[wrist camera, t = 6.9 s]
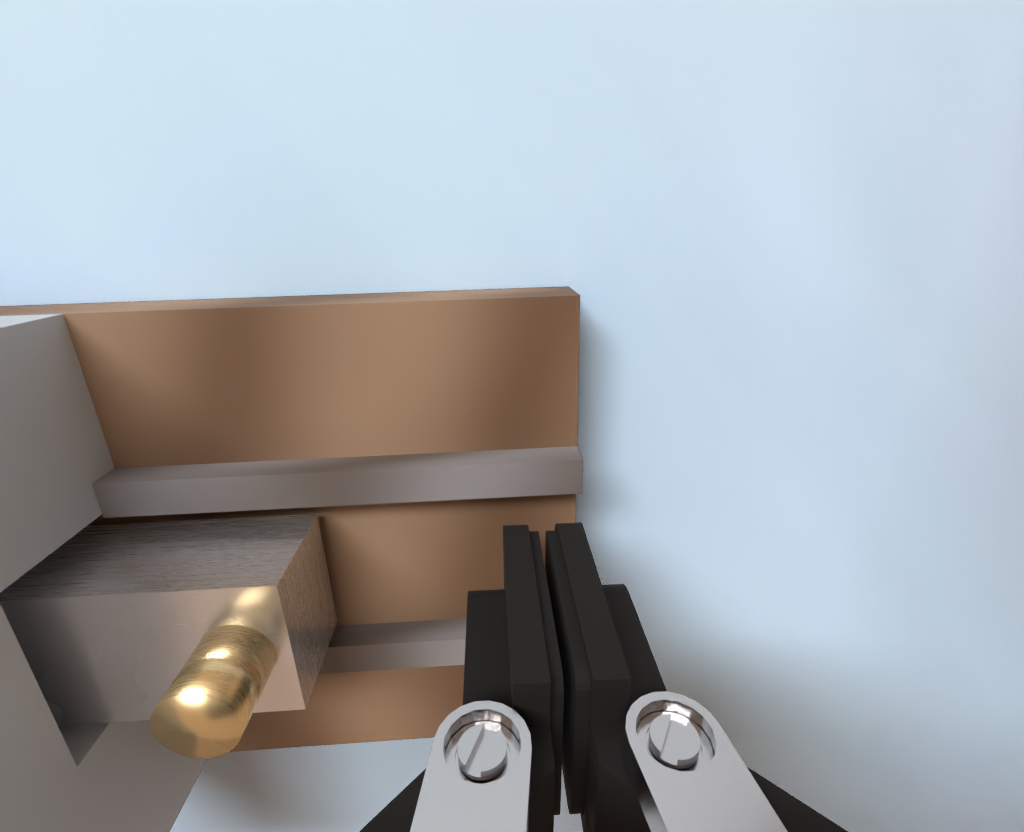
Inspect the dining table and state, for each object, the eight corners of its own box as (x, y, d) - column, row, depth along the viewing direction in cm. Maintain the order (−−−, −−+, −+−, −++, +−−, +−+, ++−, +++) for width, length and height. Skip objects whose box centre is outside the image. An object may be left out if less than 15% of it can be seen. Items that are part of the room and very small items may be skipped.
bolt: (317, 513, 11) (240, 651, 8) (337, 621, 12) (277, 786, 9) (-61, 533, 11) (-327, 686, 7) (-7, 642, 12) (-216, 822, 9)
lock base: (568, 286, 12) (586, 300, 10) (564, 683, 16) (576, 751, 14) (-125, 310, 11) (-262, 331, 9) (62, 716, 15) (-2, 793, 13)
